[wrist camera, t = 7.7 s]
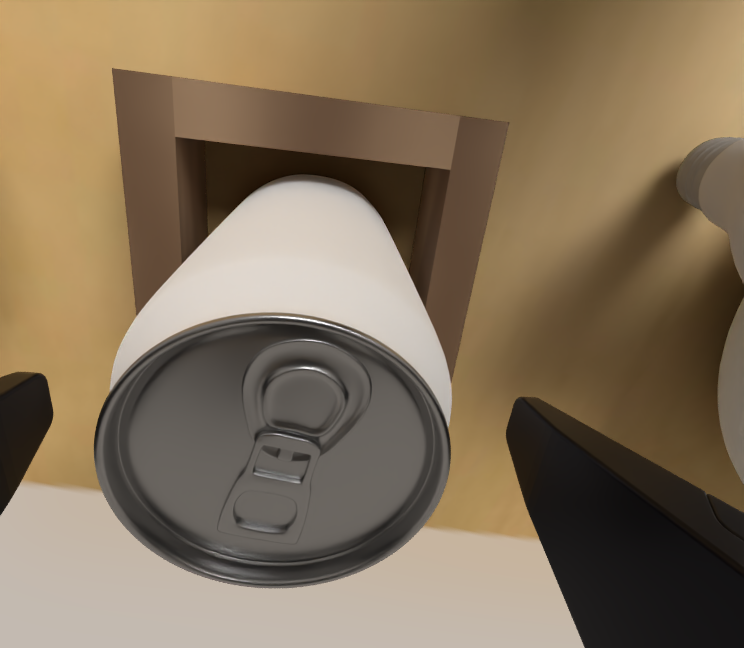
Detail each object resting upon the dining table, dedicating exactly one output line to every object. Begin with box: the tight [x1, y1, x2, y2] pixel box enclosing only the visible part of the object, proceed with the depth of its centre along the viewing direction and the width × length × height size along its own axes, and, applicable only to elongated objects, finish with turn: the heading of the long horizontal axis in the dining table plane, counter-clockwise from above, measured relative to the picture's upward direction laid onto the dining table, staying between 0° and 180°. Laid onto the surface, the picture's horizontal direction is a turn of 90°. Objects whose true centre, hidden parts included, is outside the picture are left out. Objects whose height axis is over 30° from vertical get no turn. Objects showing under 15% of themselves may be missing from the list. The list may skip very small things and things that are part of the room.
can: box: [94, 174, 452, 588], centre depth 13 cm, size 6×6×12 cm
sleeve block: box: [112, 68, 509, 381], centre depth 17 cm, size 11×11×4 cm
